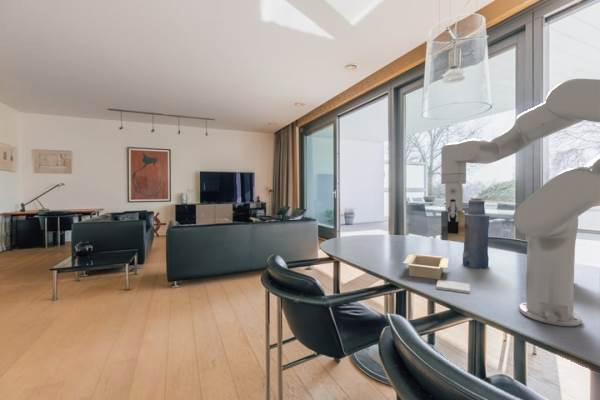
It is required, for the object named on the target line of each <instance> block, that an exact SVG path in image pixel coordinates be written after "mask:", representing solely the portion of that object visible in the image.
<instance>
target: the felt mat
mask: <svg viewBox="0 0 600 400" xmlns="http://www.w3.org/2000/svg"><path fill="white" fill-rule="evenodd" d="M435 288H436V290H437V289H438V290H443V291H444V290H446V291H452V292H457V293H465V294H471V288H470V283H466V282H459V281H452V280H444V279H440V280H439V279H437V282H436V286H435Z"/></svg>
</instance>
